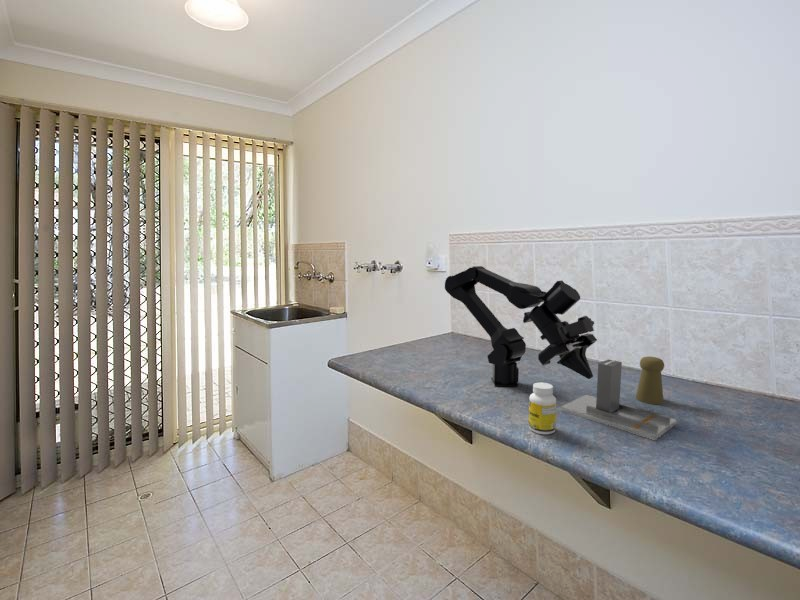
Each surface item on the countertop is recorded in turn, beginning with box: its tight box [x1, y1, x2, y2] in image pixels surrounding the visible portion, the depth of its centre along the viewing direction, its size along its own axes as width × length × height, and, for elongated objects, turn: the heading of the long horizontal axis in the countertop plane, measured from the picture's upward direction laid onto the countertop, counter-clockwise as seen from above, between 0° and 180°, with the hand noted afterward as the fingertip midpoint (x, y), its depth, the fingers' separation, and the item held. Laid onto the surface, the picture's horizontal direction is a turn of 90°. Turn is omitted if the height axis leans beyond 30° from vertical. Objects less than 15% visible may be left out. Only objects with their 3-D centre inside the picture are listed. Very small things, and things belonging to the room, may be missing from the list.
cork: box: [635, 356, 665, 405], centre depth 101 cm, size 6×6×11 cm
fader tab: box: [596, 359, 623, 412], centre depth 93 cm, size 3×5×11 cm, turn 129°
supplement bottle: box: [528, 381, 557, 435], centre depth 85 cm, size 5×5×10 cm
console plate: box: [560, 394, 677, 441], centre depth 92 cm, size 20×12×2 cm, turn 39°
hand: (591, 377), depth 96 cm, fingers closed
